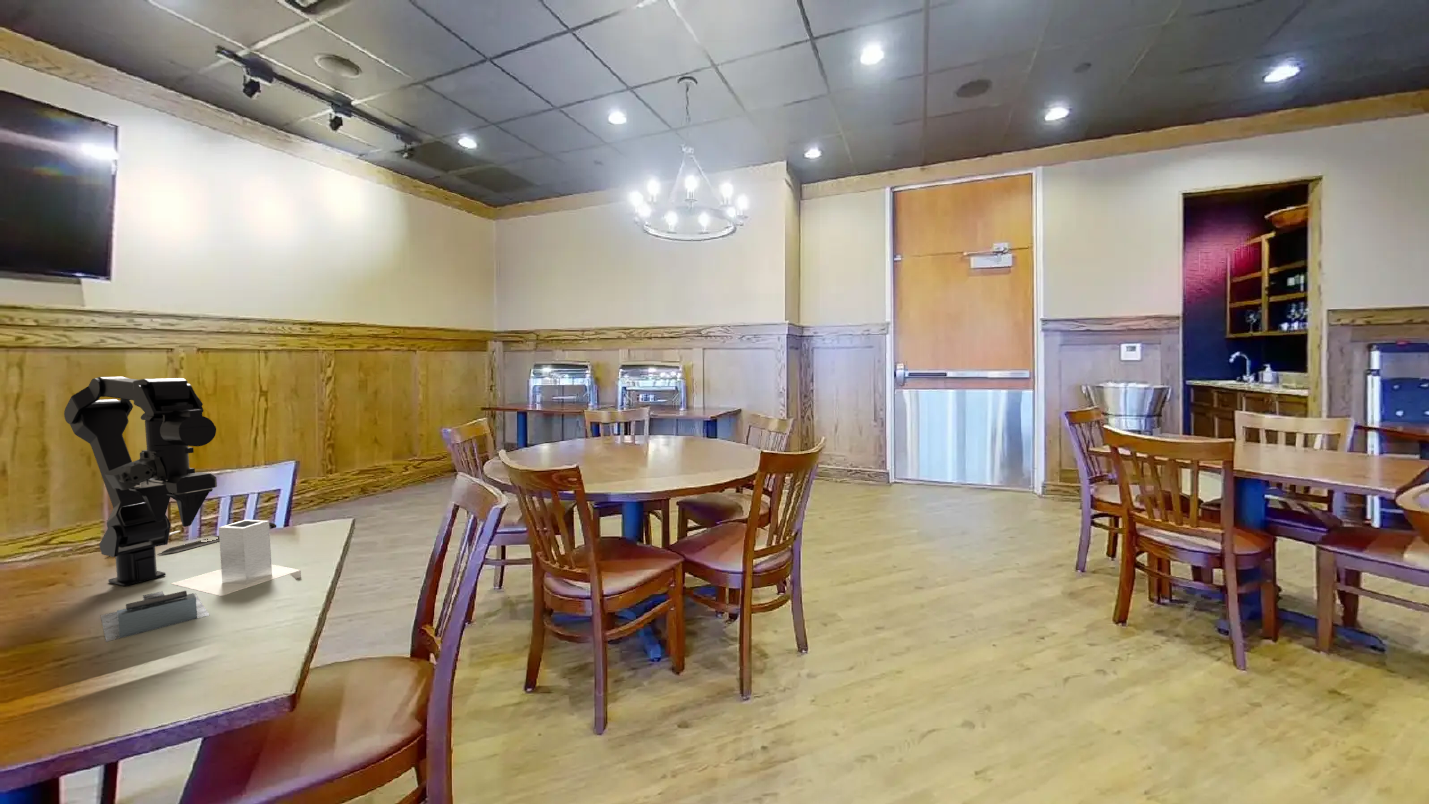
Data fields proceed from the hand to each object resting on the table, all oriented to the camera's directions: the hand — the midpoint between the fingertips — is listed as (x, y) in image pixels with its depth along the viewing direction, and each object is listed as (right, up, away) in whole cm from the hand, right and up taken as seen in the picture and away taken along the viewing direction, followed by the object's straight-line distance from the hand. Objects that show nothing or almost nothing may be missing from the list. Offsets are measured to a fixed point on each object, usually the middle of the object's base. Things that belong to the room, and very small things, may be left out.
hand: (172, 523), depth 110 cm
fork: (-34, -12, +30) cm, 47 cm away
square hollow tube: (+12, -11, +2) cm, 17 cm away
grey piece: (+10, -14, -14) cm, 22 cm away
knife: (-19, -11, +32) cm, 39 cm away
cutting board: (+10, -13, +4) cm, 16 cm away
